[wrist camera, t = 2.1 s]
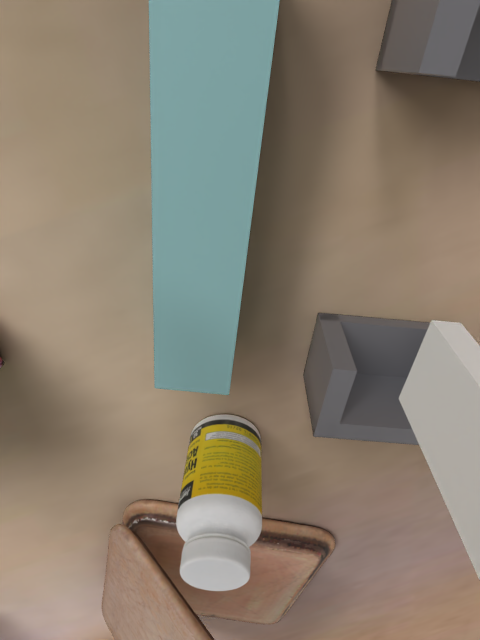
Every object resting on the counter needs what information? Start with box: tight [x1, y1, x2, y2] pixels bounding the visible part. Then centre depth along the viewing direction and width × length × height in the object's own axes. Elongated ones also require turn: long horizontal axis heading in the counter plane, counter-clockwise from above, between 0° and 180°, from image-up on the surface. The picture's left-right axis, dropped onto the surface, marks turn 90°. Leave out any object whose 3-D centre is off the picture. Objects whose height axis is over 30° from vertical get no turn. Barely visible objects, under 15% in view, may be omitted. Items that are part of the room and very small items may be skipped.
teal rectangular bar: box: [149, 0, 280, 395], centre depth 18 cm, size 18×4×5 cm, turn 174°
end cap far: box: [303, 313, 430, 445], centre depth 23 cm, size 5×8×5 cm, turn 85°
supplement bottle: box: [176, 414, 262, 591], centre depth 26 cm, size 5×5×10 cm
